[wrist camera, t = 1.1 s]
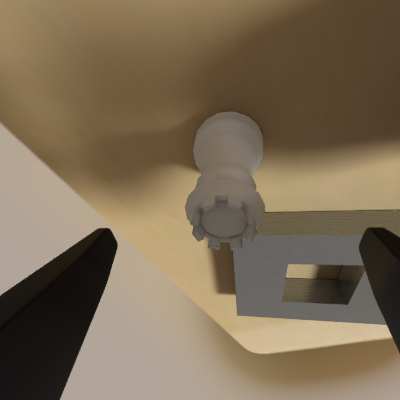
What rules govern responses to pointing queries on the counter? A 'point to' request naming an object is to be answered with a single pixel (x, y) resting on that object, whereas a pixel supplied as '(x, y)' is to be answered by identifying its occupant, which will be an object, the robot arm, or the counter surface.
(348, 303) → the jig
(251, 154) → the rook chess piece
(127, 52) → the counter surface
